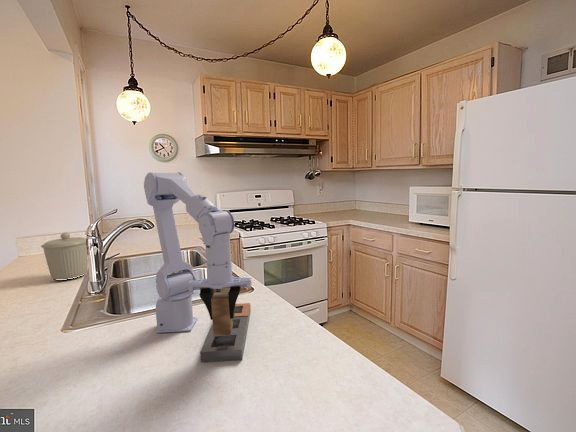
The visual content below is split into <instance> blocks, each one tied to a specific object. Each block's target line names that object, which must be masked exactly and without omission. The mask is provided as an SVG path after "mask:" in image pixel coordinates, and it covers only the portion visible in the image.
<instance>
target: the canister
mask: <svg viewBox="0 0 576 432" xmlns="http://www.w3.org/2000/svg"><path fill="white" fill-rule="evenodd" d="M86 239H87V238H86V237H79V236H78V237H77V236H76V237H75V236H74V237H71V235H70V233H68V232H62V233H61V234H60V238H59V239H58V238H57V239H52V240H49V241H46V242H44V243H43V244H42V245H40V247H41V248H42V249H43V253H44V257H45V259H46V260H45V261H46V264H47V268H48V270H49V275H50V276H51V279H53V280H54V279H68V278H73V277H77V276H80V275H83V274H85V273H86V272H87V273H88V267H89V258H88V259H87V251H86ZM87 273H86V274H87ZM86 274H85V275H86Z"/></svg>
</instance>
